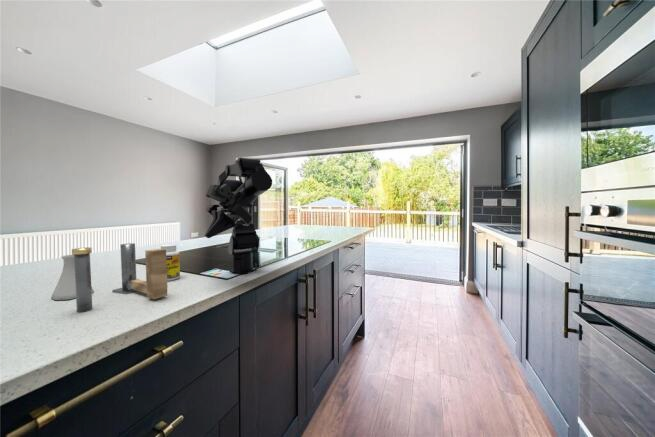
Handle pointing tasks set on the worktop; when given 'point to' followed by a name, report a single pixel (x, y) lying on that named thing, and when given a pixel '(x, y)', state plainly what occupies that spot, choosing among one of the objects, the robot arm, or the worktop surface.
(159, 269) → the tan flat l-shaped piece
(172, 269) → the supplement bottle
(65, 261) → the flask
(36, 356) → the worktop surface
